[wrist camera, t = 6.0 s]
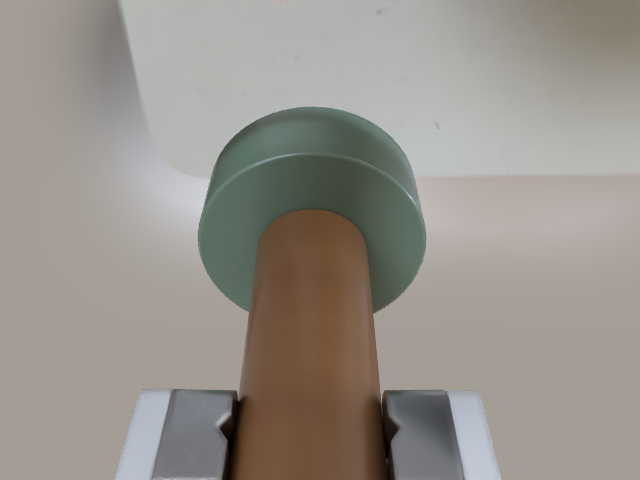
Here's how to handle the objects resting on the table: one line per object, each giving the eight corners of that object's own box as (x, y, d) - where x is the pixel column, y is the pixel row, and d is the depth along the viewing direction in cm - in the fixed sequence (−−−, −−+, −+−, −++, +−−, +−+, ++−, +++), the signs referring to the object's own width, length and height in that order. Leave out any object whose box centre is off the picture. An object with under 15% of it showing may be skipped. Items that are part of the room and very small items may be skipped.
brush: (220, 273, 16) (90, 962, 7) (198, 104, 13) (-87, 948, 4) (405, 274, 16) (515, 964, 7) (427, 106, 13) (677, 946, 4)
